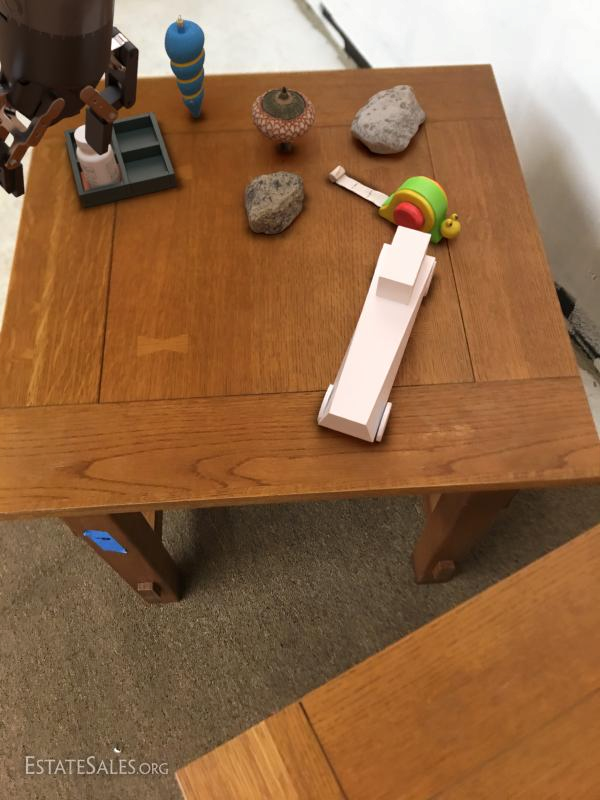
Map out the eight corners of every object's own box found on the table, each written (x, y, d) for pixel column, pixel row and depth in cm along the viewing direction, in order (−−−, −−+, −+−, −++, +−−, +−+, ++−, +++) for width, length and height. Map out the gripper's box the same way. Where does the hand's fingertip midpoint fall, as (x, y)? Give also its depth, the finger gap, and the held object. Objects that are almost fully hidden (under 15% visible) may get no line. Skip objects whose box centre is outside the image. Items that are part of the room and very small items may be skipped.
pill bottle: (116, 165, 87) (101, 117, 80) (124, 188, 85) (109, 140, 78) (84, 174, 86) (66, 125, 80) (91, 196, 85) (73, 149, 78)
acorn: (242, 148, 90) (236, 83, 81) (286, 120, 93) (285, 55, 84) (281, 180, 87) (280, 117, 78) (326, 151, 90) (329, 87, 81)
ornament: (219, 109, 94) (207, 5, 80) (207, 133, 91) (192, 30, 78) (185, 102, 94) (167, -2, 81) (173, 126, 92) (152, 23, 79)
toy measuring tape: (440, 262, 81) (452, 225, 75) (318, 189, 87) (320, 149, 81) (467, 231, 83) (480, 193, 77) (347, 162, 89) (351, 122, 83)
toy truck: (381, 262, 81) (390, 209, 73) (435, 278, 80) (451, 225, 72) (314, 432, 70) (316, 392, 62) (376, 453, 69) (387, 415, 61)
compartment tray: (83, 208, 85) (78, 195, 83) (68, 144, 90) (63, 130, 88) (177, 186, 86) (174, 173, 84) (156, 125, 92) (153, 111, 90)
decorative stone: (428, 162, 89) (436, 132, 85) (350, 162, 89) (353, 132, 84) (421, 102, 95) (427, 71, 90) (347, 102, 95) (350, 70, 90)
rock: (307, 233, 83) (308, 207, 79) (246, 236, 83) (243, 210, 79) (303, 192, 86) (303, 165, 82) (244, 195, 86) (242, 168, 82)
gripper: (102, -77, 44) (93, 107, 58) (-94, -24, 37) (-51, 171, 51) (177, -4, 44) (149, 164, 58) (-7, 65, 37) (12, 237, 51)
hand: (55, 167), depth 55 cm, fingers open, 8 cm apart
